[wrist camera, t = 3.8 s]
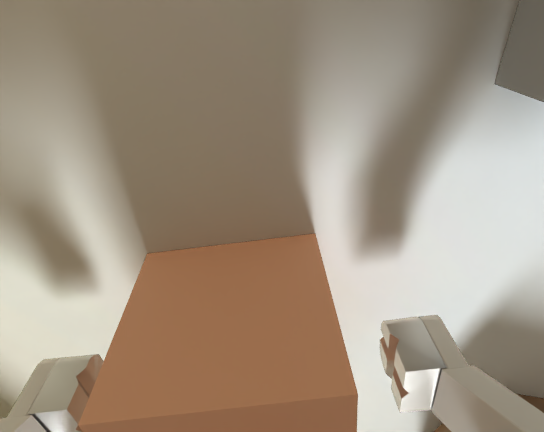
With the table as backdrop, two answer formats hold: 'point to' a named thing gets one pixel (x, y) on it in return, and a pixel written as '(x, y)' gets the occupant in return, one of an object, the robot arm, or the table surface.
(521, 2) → the slate grey cube
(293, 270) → the terracotta cube
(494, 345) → the table surface
